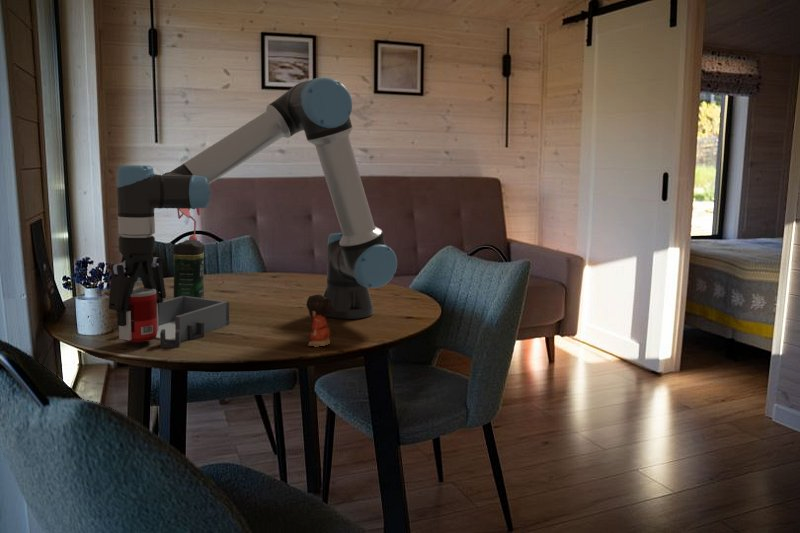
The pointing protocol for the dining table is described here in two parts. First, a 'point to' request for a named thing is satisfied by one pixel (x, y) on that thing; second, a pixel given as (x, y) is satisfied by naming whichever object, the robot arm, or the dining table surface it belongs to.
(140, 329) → the canned food
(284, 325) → the dining table surface
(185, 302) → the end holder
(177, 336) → the clip
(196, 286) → the coffee jar
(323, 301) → the figurine
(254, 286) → the dining table surface
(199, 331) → the clip
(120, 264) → the robot arm
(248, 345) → the dining table surface
